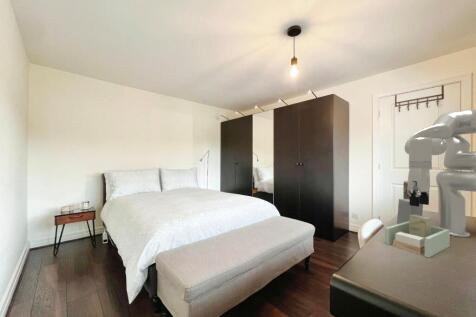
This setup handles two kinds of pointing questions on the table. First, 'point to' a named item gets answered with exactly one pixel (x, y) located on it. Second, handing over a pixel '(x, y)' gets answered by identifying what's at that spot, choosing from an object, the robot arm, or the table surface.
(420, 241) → the offcut upper
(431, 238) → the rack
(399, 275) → the table surface
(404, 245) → the offcut lower
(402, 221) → the skincare box
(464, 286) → the table surface
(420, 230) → the skincare box
